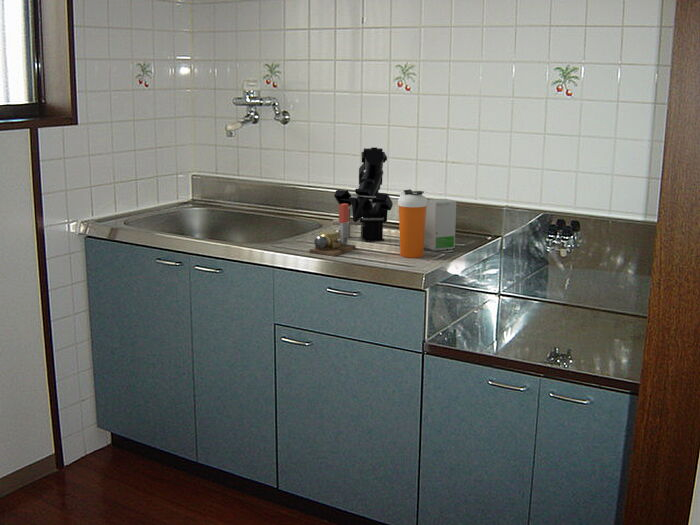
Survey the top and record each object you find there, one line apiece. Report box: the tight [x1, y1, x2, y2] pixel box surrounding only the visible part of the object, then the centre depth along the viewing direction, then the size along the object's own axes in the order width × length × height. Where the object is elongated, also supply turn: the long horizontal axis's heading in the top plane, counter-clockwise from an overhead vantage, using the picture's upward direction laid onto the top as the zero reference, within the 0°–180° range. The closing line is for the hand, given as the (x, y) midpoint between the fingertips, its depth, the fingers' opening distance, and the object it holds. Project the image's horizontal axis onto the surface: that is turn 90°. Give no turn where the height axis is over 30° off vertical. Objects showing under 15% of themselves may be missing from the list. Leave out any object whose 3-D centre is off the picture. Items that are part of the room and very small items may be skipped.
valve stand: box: [308, 229, 356, 257], centre depth 264 cm, size 13×9×6 cm
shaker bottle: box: [397, 188, 427, 259], centre depth 256 cm, size 9×9×20 cm
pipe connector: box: [332, 207, 362, 239], centre depth 284 cm, size 10×10×10 cm
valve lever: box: [338, 203, 349, 246], centre depth 261 cm, size 3×2×13 cm, turn 150°
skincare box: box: [424, 198, 457, 251], centre depth 267 cm, size 8×7×16 cm
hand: (354, 221), depth 265 cm, fingers closed
